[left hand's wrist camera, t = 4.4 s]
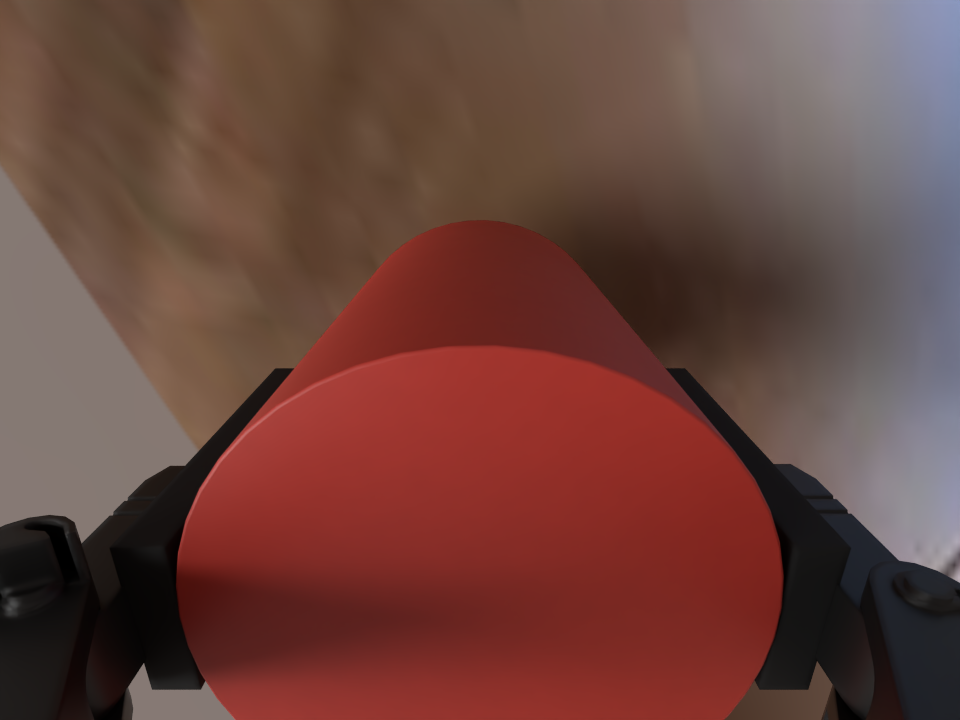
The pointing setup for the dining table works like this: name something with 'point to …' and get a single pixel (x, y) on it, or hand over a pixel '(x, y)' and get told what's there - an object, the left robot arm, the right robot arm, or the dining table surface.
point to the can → (479, 513)
